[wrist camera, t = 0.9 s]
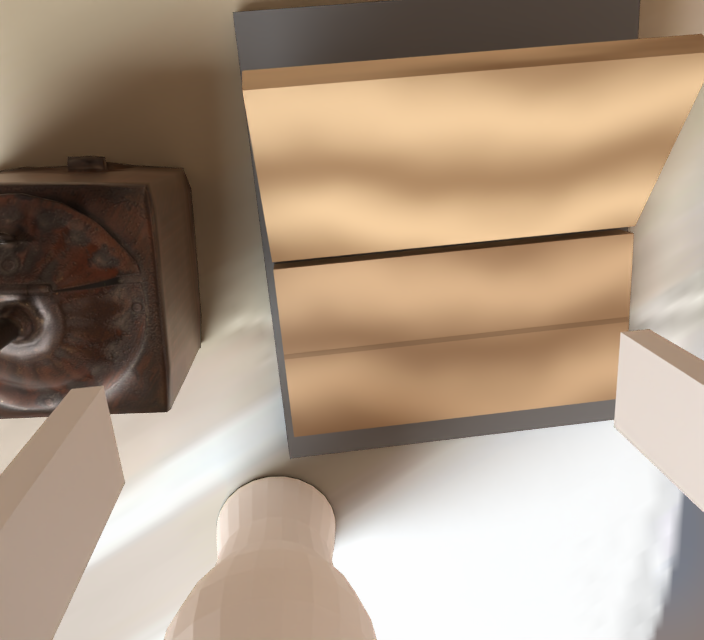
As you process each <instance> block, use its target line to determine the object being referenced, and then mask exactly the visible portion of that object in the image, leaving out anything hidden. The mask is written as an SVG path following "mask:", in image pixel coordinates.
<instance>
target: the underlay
mask: <svg viewBox="0 0 704 640" xmlns="http://www.w3.org/2000/svg"><path fill="white" fill-rule="evenodd" d="M639 10H640V0H392V1H378V2H365V3H351V4H338V5H324V6H311V7H297V8H284V9H270V10H257V11H243V12H233V18H234V25H235V33H236V41H237V49H238V57H239V64H240V72H241V80H242V71H245V70H258V69H270V68H283V67H295V66H308V65H320V64H332V63H345V62H357V61H370V60H382V59H395V58H407V57H420V56H432V55H445V54H457V53H470V52H482V51H495V50H507V49H520V48H532V47H545V46H557V45H569V44H582V43H594V42H607V41H619V40H632V39H638V29H639ZM245 111H246V108H245ZM246 119H247V114H246ZM247 127H248V135H249V142H250V150H251V158H252V166H253V174H254V181H255V189H256V197H257V205H258V213H259V221H260V228H261V236H262V244H263V252H264V260H265V267H266V275H267V283H268V291H269V299H270V306H271V314H272V322H273V330H274V338H275V345H276V353H277V361H278V369H279V377H280V384H281V392H282V400H283V408H284V416H285V423H286V431H287V439H288V447H289V455H290V458H298V457H307V456H315V455H323V454H332V453H340V452H348V451H357V450H365V449H373V448H381V447H390V446H398V445H406V444H415V443H423V442H431V441H440V440H448V439H456V438H465V437H473V436H481V435H490V434H498V433H506V432H514V431H523V430H531V429H539V428H548V427H556V426H564V425H573V424H581V423H589V422H598V421H606V420H614V418H615V404H616V399H612V400H604V401H596V402H587V403H579V404H570V405H562V406H553V407H545V408H536V409H528V410H519V411H511V412H502V413H494V414H486V415H477V416H469V417H460V418H452V419H443V420H435V421H426V422H418V423H409V424H401V425H392V426H384V427H376V428H367V429H359V430H350V431H342V432H333V433H325V434H316V435H308V436H299V437H294V432H293V424H292V416H291V408H290V400H289V392H288V384H287V376H286V368H285V360H284V352H283V344H282V336H281V328H280V320H279V312H278V304H277V296H276V288H275V280H274V271H273V268H274V264H281V263H291V262H301V261H311V260H321V259H331V258H341V257H351V256H361V255H371V254H381V253H391V252H401V251H411V250H421V249H430V248H440V247H450V246H460V245H470V244H480V243H490V242H500V241H510V240H520V239H530V238H540V237H550V236H560V235H570V234H580V233H590V232H600V231H610V230H623V231H627V232H628V227H621V228H611V229H601V230H591V231H581V232H571V233H561V234H551V235H541V236H531V237H521V238H511V239H501V240H491V241H481V242H471V243H461V244H451V245H441V246H431V247H421V248H411V249H401V250H391V251H381V252H371V253H361V254H351V255H341V256H331V257H321V258H311V259H301V260H291V261H281V262H272V258H271V252H270V246H269V241H268V235H267V229H266V223H265V218H264V212H263V206H262V200H261V195H260V189H259V183H258V177H257V172H256V166H255V160H254V154H253V149H252V143H251V137H250V131H249V126H248V120H247Z"/></svg>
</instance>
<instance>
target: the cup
mask: <svg viewBox="0 0 704 640" xmlns="http://www.w3.org/2000/svg"><path fill="white" fill-rule="evenodd" d="M334 542H335V517H334V513H333V510H332V507H331V505H330V504H329V502H328V501H327V499H326V498H325V496H324V495H323V494H322V493H320V492H319V491H318V490H317V489H316V488H315V487H313V486H312V485H309V484H307V483H305V482H303V481H301V480H299V479H294V478H289V477H284V476H283V477H266V478H262V479H258V480H254V481H252V482H250V483H248V484H246V485H244V486H242V487H241V488H239V489H238V490H237V491H236V492H234V493H233V494H232V495H231V496H230V497H229V498H228V499H227V501H226V502H225V504H224V506H223V507H222V509H221V511H220V514H219V518H218V522H217V553H218V560H217V563H216V565H215V567H214V568H213V569H212V570H210V571H209V572H208V573H207V574H206V575H205V576H204V577H203V578H202V579H201V580H199V581H198V582H197V584H196V585H195V587H194V588H193V590H192V591H191V593H190V594H189V596H188V597H187V599H186V600H185V601H184V603H183V604H182V606H181V607H180V609H179V611H178V612H177V614H176V615H175V617H174V618H173V620H172V622H171V623H170V625H169V626H168V628H167V630H166V634H165V638H164V640H377V639H376V636H375V632H374V629H373V625H372V622H371V619H370V617H369V615H368V614H367V612H366V610H365V608H364V607H363V605H362V603H361V601H360V600H359V598H358V596H357V594H356V593H355V591H354V590H353V588H352V587H351V585H350V584H349V582H348V581H347V579H346V578H345V577H344V575H343V574H341V573H340V572H339V571H338V570H337V569H336V568H335V567H334V566H333V563H332V556H333V550H334Z"/></svg>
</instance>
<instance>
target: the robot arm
mask: <svg viewBox="0 0 704 640" xmlns="http://www.w3.org/2000/svg"><path fill="white" fill-rule="evenodd" d="M614 428H616V429H617V430H618V431H619V432H620V433H621V434H622V435H623V436H624V437H625V438H626V439H627V440H628V441H629V442H630V443H631V444H632V445H633V446H634V447H636V448H637V449H638V450H639V451H640V452H641V453H642V454H643V455H644V456H645V457H646V458H647V459H648V460H649V461H650V462H651V463H652V464H653V465H654V466H656V467H657V468H658V469H659V470H660V471H661V472H662V473H663V474H664V475H665V476H666V477H667V478H668V479H669V480H670V481H671V482H672V483H673V484H674V485H676V486H677V487H678V488H679V489H680V490H681V491H682V492H683V493H684V494H685V495H686V496H687V497H688V498H689V499H690V500H692V502H693V503H695V504H696V505H697V506H698V507H699V508H700V509H701V510H702V511H703V512H704V361H703V360H701V359H699V358H698V357H696V356H694V355H693V354H691V353H689V352H687V351H686V350H684V349H682V348H681V347H679V346H677V345H675V344H674V343H672V342H670V341H669V340H667V339H665V338H663V337H662V336H660V335H658V334H656V333H655V332H653V331H651V330H650V329H646V330H636V331H627V332H621V334H620V348H619V362H618V376H617V390H616V404H615V418H614ZM124 484H125V480H124V476H123V471H122V467H121V462H120V458H119V453H118V449H117V444H116V440H115V435H114V431H113V426H112V422H111V417H110V413H109V408H108V404H107V399H106V395H105V390H104V386H96V387H86V388H76V389H71V390H70V391H69V393H68V394H67V395H66V396H65V397H64V399H63V400H62V401H61V402H60V403H59V405H58V406H57V407H56V408H55V410H54V411H53V412H52V413H51V414H50V416H49V417H48V418H47V419H46V420H45V422H44V423H43V424H42V425H41V427H40V428H39V429H38V430H37V431H36V433H35V434H34V435H33V436H32V437H31V439H30V440H29V441H28V442H27V444H26V445H25V446H24V447H23V448H22V450H21V451H20V452H19V453H18V454H17V456H16V457H15V458H14V459H13V461H12V462H11V463H10V464H9V465H8V467H7V468H6V469H5V470H4V471H3V473H2V474H1V475H0V640H53V638H54V635H55V633H56V631H57V629H58V627H59V625H60V622H61V620H62V618H63V616H64V614H65V612H66V609H67V607H68V605H69V603H70V601H71V599H72V596H73V594H74V592H75V590H76V588H77V586H78V583H79V581H80V579H81V577H82V575H83V573H84V570H85V568H86V566H87V564H88V562H89V560H90V557H91V555H92V553H93V551H94V549H95V547H96V544H97V542H98V540H99V538H100V536H101V534H102V531H103V529H104V527H105V525H106V523H107V521H108V519H109V516H110V514H111V512H112V510H113V508H114V506H115V503H116V501H117V499H118V497H119V495H120V493H121V490H122V488H123V486H124Z"/></svg>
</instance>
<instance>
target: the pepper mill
mask: <svg viewBox="0 0 704 640" xmlns="http://www.w3.org/2000/svg"><path fill="white" fill-rule="evenodd" d="M200 348H201V306H200V293H199V280H198V267H197V254H196V241H195V228H194V216H193V205H192V195H191V187H190V185H189V182H188V180H187V177H186V175H185V173H184V170H183V168H172V167H154V166H136V165H127V164H117V163H108V162H106V160H105V157H93V156H85V157H68V164H67V166H57V167H23V168H17V169H11V170H6V171H0V419H8V418H31V417H49V416H50V414H51V413H52V412H53V411H54V410H55V408H56V407H57V406H58V405H59V403H60V402H61V401H62V400H63V399H64V397H65V396H66V395H67V394H68V393H69V391H70V390H71V389H76V388H86V387H96V386H104V390H105V395H106V399H107V404H108V408H109V413H110V414H126V413H156V412H168V411H169V410H170V409H171V407H172V405H173V403H174V401H175V399H176V397H177V395H178V392H179V390H180V388H181V386H182V384H183V382H184V380H185V378H186V376H187V374H188V372H189V369H190V367H191V365H192V363H193V361H194V358H195V356H196V354H197V352H198V350H199V349H200Z"/></svg>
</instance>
